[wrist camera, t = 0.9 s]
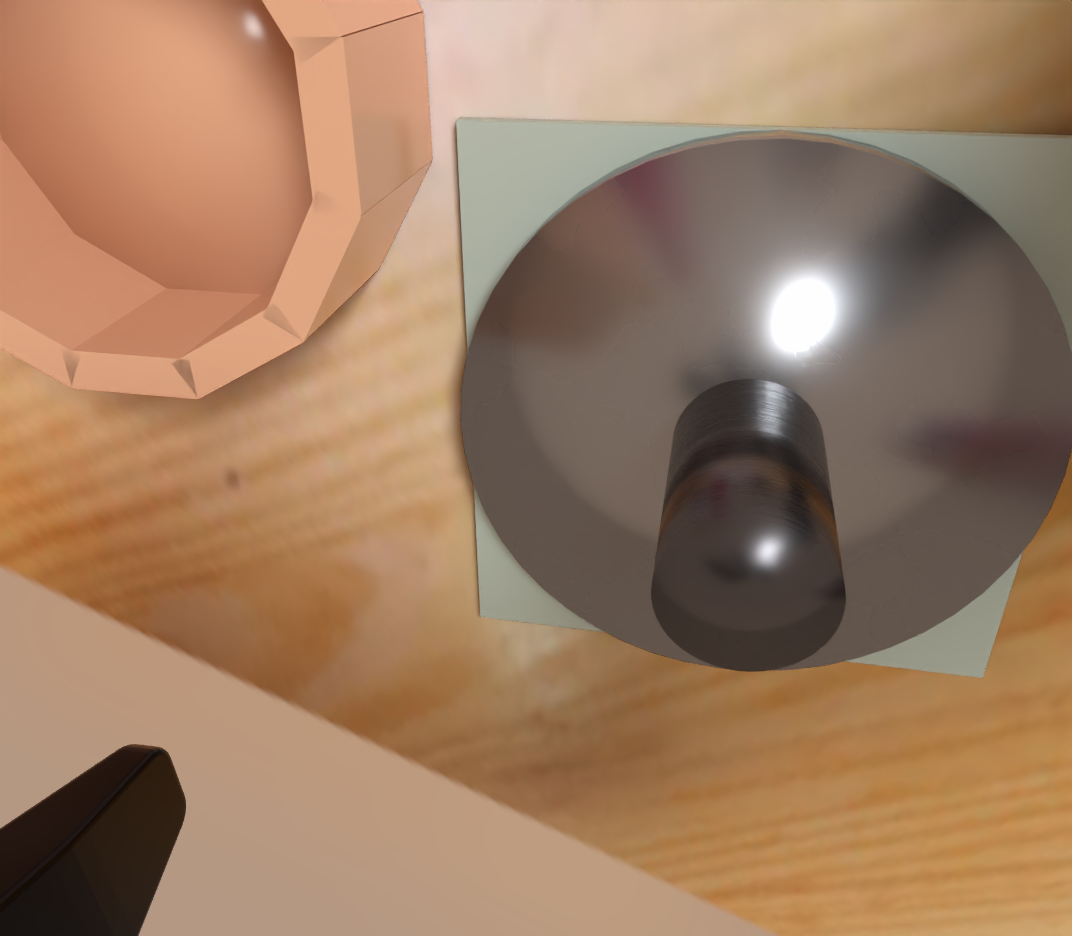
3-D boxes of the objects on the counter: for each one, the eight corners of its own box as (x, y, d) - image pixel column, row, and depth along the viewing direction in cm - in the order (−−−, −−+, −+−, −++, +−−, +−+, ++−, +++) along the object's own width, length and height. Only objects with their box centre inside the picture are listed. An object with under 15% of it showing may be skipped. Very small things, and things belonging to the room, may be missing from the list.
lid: (1153, 140, 16) (1339, 246, 11) (982, 677, 22) (1049, 900, 17) (456, 119, 18) (344, 200, 13) (480, 616, 24) (410, 798, 19)
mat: (1147, 137, 16) (1153, 141, 16) (979, 669, 22) (983, 677, 22) (460, 117, 18) (456, 120, 18) (482, 609, 24) (480, 617, 24)
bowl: (407, -234, 15) (310, -276, 12) (442, 330, 20) (381, 415, 17) (-114, -215, 17) (-331, -247, 13) (38, 303, 22) (-92, 374, 18)
